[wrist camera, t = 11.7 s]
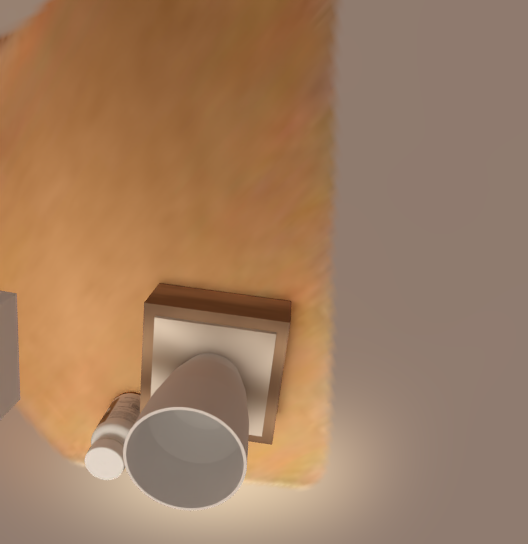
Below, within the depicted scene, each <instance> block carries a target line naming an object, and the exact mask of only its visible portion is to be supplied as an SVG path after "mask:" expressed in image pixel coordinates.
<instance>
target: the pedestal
mask: <svg viewBox="0 0 528 544" xmlns="http://www.w3.org/2000/svg"><path fill="white" fill-rule="evenodd" d="M290 320H291V301H285V300H278V299H270V298H263V297H256V296H249V295H241V294H234V293H227V292H219V291H212V290H205V289H197V288H190V287H183V286H175V285H168V284H161V283H159V285H158V286H157V287H156V289H155V290H154V291H153V292H152V294H151V295H150V296H149V297H148V299H147V300H146V301H145V302H144V322H143V346H142V370H141V394H140V414H141V412H142V410H143V409H144V407H145V406H146V404H147V403H148V401H149V400H150V398H151V396H152V395H153V394H154V392H155V391H156V390H157V389H158V388H159V387H160V386H161V385H162V383H163V382H164V381H165V380H166V379H167V378H168V377H169V376H170V375H171V373H172V372H173V371H174V370H175V369H176V368H178V367H179V366H181V365H182V364H184V363H185V362H187V361H188V360H190V359H191V358H193V357H194V356H197V355H199V354H203V353H214V354H219V355H221V356H224V357H226V358H227V359H229V360H230V361H231V362H232V363H233V364H234V365H235V366H236V368H237V369H238V372H239V374H240V377H241V379H242V382H243V385H244V387H245V391H246V397H247V407H248V416H249V437H248V441H251V442H258V443H265V444H271V445H272V441H273V434H274V428H275V421H276V414H277V408H278V401H279V395H280V388H281V381H282V375H283V368H284V362H285V355H286V349H287V342H288V335H289V329H290Z"/></svg>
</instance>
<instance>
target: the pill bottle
mask: <svg viewBox="0 0 528 544" xmlns="http://www.w3.org/2000/svg"><path fill="white" fill-rule="evenodd" d="M139 415H140V395H138V394H134V393H126V394H122V395H120V396H118V397H117V398H116V399H115V400H114V401H113V402H112V404H111V406H110V407H109V409H108V410H107V412H106V413H105V415H104V416H103V418H102V420H101V421H100V423H99V424H98V426H97V428H96V429H95V431H94V433H93V435H92V438H91V445H92V446H91V447H90V449H89V451H88V452H87V454H86V457H85V465H86V468H87V469H88V471H89V472H90V473H91V474H92V475H94V476H95V477H97V478H99V479H102V480H112V479H115V478H117V477H119V476H120V475H121V474H122V472H123V471H124V469H125V464H124V459H123V447H124V442H125V439H126V436H127V434H128V433H129V431H130V429H131V428H132V426H133V425H134V423H135V421H136V420H137V418H138V417H139Z"/></svg>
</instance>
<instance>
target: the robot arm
mask: <svg viewBox="0 0 528 544" xmlns="http://www.w3.org/2000/svg"><path fill="white" fill-rule="evenodd" d="M19 400H20V378H19V348H18V319H17V293H11V292H5V291H0V420H1V419H2V418H3V417H4V416H5V415H6V414H7V413H8V412H9V410H10V409H11V408H12V407H13V406H14V405H15V404H16V403H17V402H18V401H19Z"/></svg>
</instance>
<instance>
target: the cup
mask: <svg viewBox="0 0 528 544" xmlns="http://www.w3.org/2000/svg"><path fill="white" fill-rule="evenodd" d="M248 437H249V416H248V407H247V397H246V391H245V387H244V385H243V382H242V379H241V377H240V374H239V372H238V369H237V368H236V366H235V365H234V364H233V363H232V362H231V361H230V360H229V359H227V358H226V357H224V356H221V355H219V354H214V353H203V354H199V355H197V356H194V357H193V358H191V359H190V360H188V361H187V362H185V363H184V364H182V365H181V366H179V367H178V368H176V369H175V370H174V371H173V372H172V373H171V375H170V376H169V377H168V378H167V379H166V380H165V381H164V382H163V383H162V385H161V386H160V387H159V388H158V389H157V390H156V391H155V392H154V394H153V395H152V396H151V398H150V400H149V401H148V403H147V404H146V406H145V407H144V409H143V410H142V412H141V414H140V415H139V417H138V418H137V420H136V421H135V423H134V425H133V426H132V428H131V429H130V431H129V433H128V434H127V436H126V439H125V442H124V447H123V459H124V464H125V468H126V470H127V473H128V475H129V476H130V478H131V480H132V481H133V483H134V484H135V485H136V486H137V487H138V488H139V489H140V490H141V491H142V492H143V493H144V494H145V495H147V496H148V497H149V498H151V499H153V500H154V501H156V502H158V503H160V504H163V505H165V506H168V507H171V508H175V509H180V510H203V509H208V508H212V507H215V506H217V505H219V504H221V503H223V502H225V501H226V500H228V499H229V498H231V497H232V496H233V495H234V494H235V493H236V492H237V491H238V489H239V488H240V486H241V485H242V483H243V481H244V478H245V475H246V469H247V454H248Z"/></svg>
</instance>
